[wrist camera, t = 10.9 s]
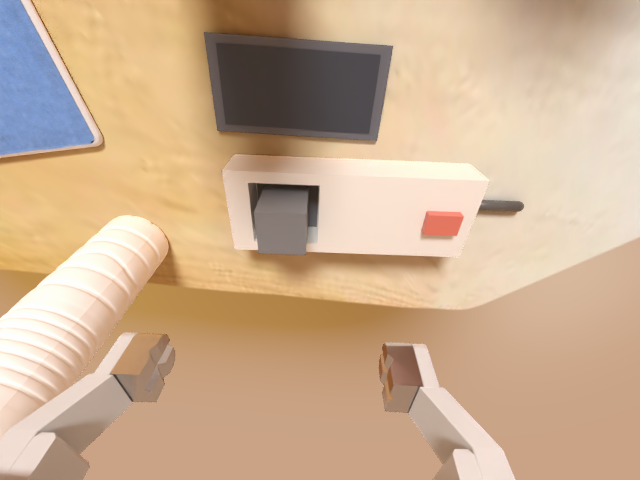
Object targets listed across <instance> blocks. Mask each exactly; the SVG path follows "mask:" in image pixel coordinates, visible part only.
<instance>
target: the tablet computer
mask: <svg viewBox="0 0 640 480" xmlns="http://www.w3.org/2000/svg"><path fill="white" fill-rule="evenodd" d="M102 143H103V137H102V134H101V132H100V131H99V129H98V127H97V125H96V123H95V121H94V120H93V118H92V116H91V114H90V112H89V110H88V108H87V107H86V105H85V103H84V101H83V99H82V97H81V95H80V93H79V92H78V90H77V88H76V86H75V84H74V82H73V80H72V78H71V76H70V74H69V73H68V71H67V69H66V67H65V65H64V63H63V61H62V59H61V57H60V55H59V53H58V51H57V50H56V48H55V46H54V44H53V42H52V40H51V38H50V36H49V34H48V33H47V31H46V29H45V27H44V25H43V23H42V21H41V19H40V17H39V15H38V13H37V11H36V9H35V7H34V6H33V4H32V2H31V0H0V158H4V157H12V156H20V155H29V154H37V153H45V152H53V151H62V150H70V149H79V148H87V147H95V146H99V145H101V144H102Z"/></svg>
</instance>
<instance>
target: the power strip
mask: <svg viewBox="0 0 640 480" xmlns="http://www.w3.org/2000/svg"><path fill="white" fill-rule="evenodd" d="M222 175H223V181H224V187H225V193H226V200H227V206H228V212H229V218H230V224H231V231H232V237H233V243H234V249H240V250H258V244H257V235H256V225H255V216H254V211H255V208H256V206H257V203H258V201H259V198H260V196H261V193H262V191H263V188H264V186H265V183H266V184H291V185H309V222H308V235H307V247H306V252H325V253H353V254H381V255H409V256H437V257H460V255H461V253H462V250H463V248H464V245H465V243H466V240H467V238H468V235H469V233H470V230H471V227H472V225H473V222H474V220H475V217H476V215H477V212H478V210H492V211H521V210H523V208H524V204H523V203H522V202H519V201H494V200H483V197H484V195H485V192H486V190H487V187H488V185H489V182H490V181H489V180H488V179H487V178H486V177H485V176H484V175H482V174H481V173H480V172H479V171H478V170H477V169H475V168H474V167H473V166H472V165H471V164H466V163H441V162H416V161H392V160H367V159H342V158H318V157H293V156H268V155H244V154H234V155H233V156H232V158H231V159H230V160H229V162H228V163H227V164H226V165H225V167H224V168H223V169H222Z"/></svg>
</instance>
